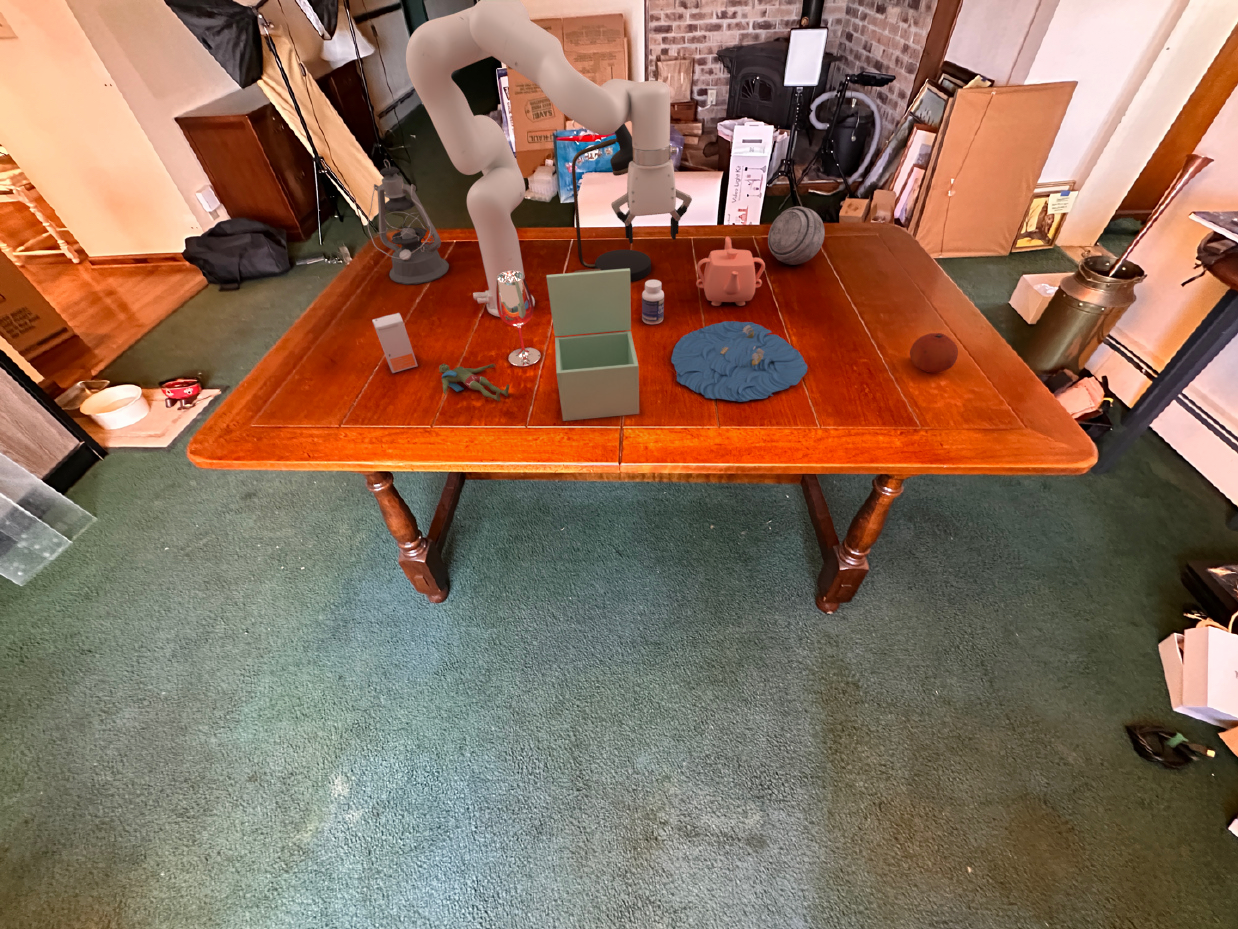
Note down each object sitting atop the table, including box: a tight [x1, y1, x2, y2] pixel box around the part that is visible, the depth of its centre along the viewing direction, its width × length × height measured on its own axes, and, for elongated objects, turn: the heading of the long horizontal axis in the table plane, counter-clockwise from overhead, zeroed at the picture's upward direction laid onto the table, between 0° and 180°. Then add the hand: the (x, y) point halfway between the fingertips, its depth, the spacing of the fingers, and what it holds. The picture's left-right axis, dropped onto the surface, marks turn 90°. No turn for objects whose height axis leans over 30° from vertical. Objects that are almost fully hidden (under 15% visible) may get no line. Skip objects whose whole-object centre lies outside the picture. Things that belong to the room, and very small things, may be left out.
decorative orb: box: [767, 205, 826, 266], centre depth 154 cm, size 15×14×15 cm
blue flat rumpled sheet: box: [670, 320, 809, 403], centre depth 123 cm, size 30×30×5 cm
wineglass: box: [496, 271, 542, 367], centre depth 123 cm, size 8×8×20 cm
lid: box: [546, 268, 632, 337], centre depth 110 cm, size 13×16×5 cm
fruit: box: [909, 332, 959, 374], centre depth 119 cm, size 9×9×8 cm
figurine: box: [438, 363, 510, 402], centre depth 121 cm, size 16×4×18 cm
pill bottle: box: [641, 279, 665, 325], centre depth 136 cm, size 5×5×10 cm
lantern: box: [367, 159, 450, 286], centre depth 152 cm, size 18×20×30 cm
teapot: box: [695, 236, 766, 307], centre depth 142 cm, size 15×17×13 cm
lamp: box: [571, 123, 652, 283], centre depth 147 cm, size 16×22×38 cm
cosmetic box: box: [371, 312, 419, 374], centre depth 125 cm, size 6×4×12 cm
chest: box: [554, 330, 640, 422], centre depth 114 cm, size 13×16×12 cm
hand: (651, 239), depth 125 cm, fingers open, 9 cm apart
